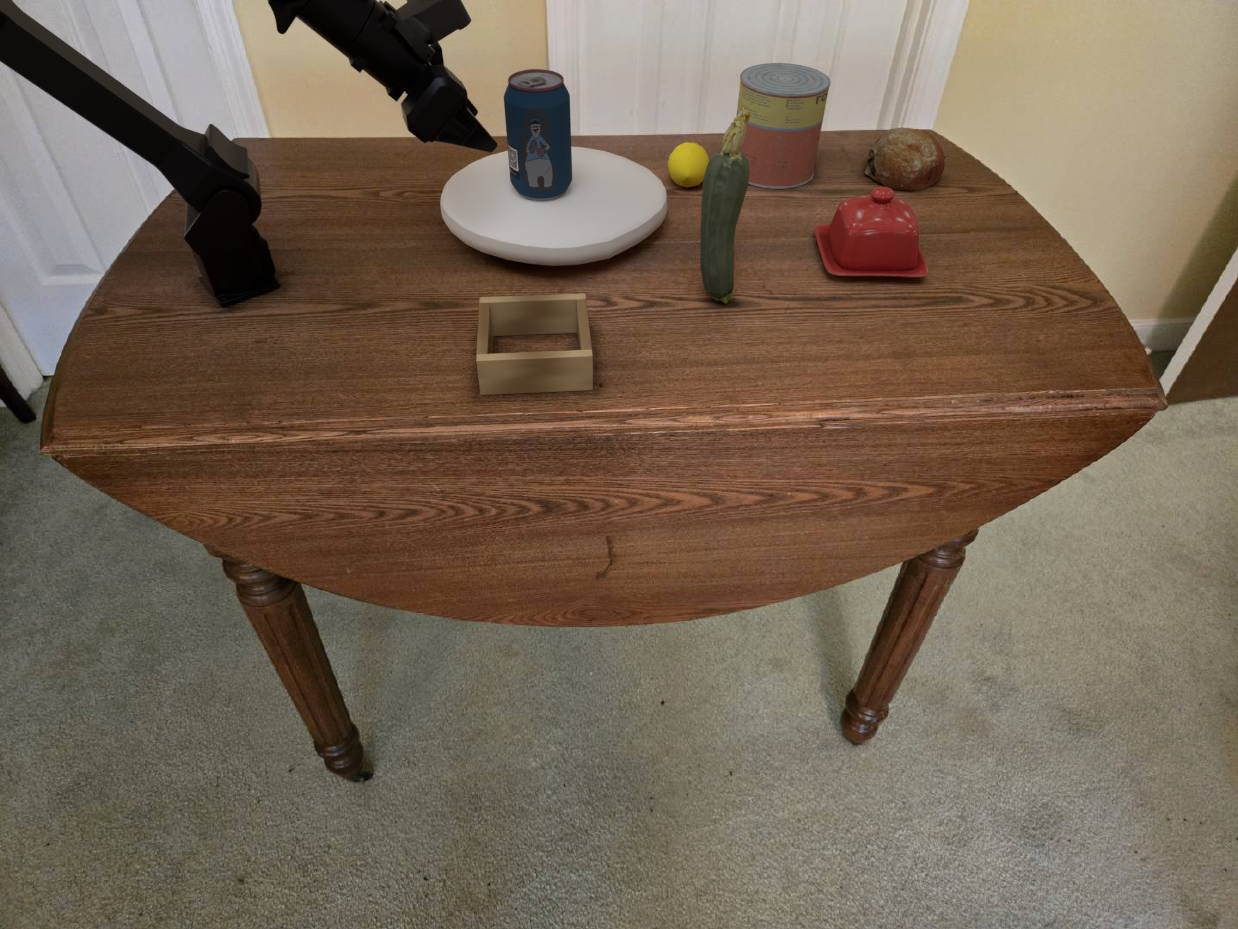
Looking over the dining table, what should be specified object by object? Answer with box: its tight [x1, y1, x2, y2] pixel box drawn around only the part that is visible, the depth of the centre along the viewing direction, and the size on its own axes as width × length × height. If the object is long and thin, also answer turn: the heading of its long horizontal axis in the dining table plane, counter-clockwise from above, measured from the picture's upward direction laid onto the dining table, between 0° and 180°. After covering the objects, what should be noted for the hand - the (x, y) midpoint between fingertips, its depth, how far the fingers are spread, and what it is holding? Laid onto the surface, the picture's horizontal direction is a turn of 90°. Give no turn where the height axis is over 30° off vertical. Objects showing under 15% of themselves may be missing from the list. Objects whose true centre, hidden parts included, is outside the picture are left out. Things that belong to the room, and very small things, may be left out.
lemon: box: [667, 141, 710, 189], centre depth 106 cm, size 7×5×5 cm
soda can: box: [503, 68, 572, 201], centre depth 88 cm, size 7×7×12 cm
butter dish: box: [813, 186, 929, 278], centre depth 91 cm, size 12×12×8 cm
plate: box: [439, 145, 668, 267], centre depth 97 cm, size 28×6×27 cm
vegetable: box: [699, 107, 751, 304], centre depth 81 cm, size 4×4×20 cm
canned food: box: [736, 62, 832, 190], centre depth 107 cm, size 11×11×12 cm
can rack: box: [475, 292, 594, 396], centre depth 78 cm, size 10×10×4 cm
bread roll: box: [864, 127, 946, 192], centre depth 109 cm, size 10×10×8 cm
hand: (484, 131), depth 86 cm, fingers open, 9 cm apart
